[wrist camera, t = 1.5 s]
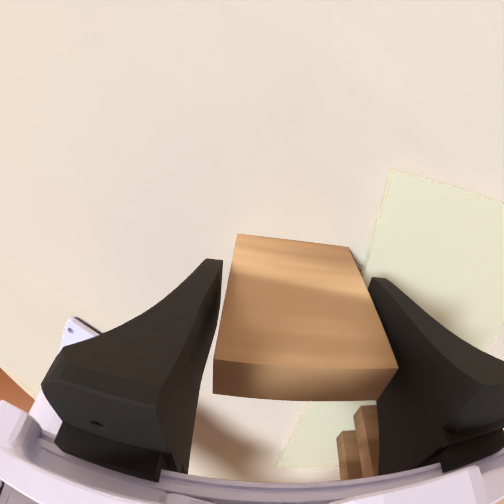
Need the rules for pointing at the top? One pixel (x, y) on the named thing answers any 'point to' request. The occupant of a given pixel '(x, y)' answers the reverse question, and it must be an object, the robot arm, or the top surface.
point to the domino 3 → (368, 439)
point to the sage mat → (421, 284)
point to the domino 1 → (299, 326)
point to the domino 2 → (349, 455)
